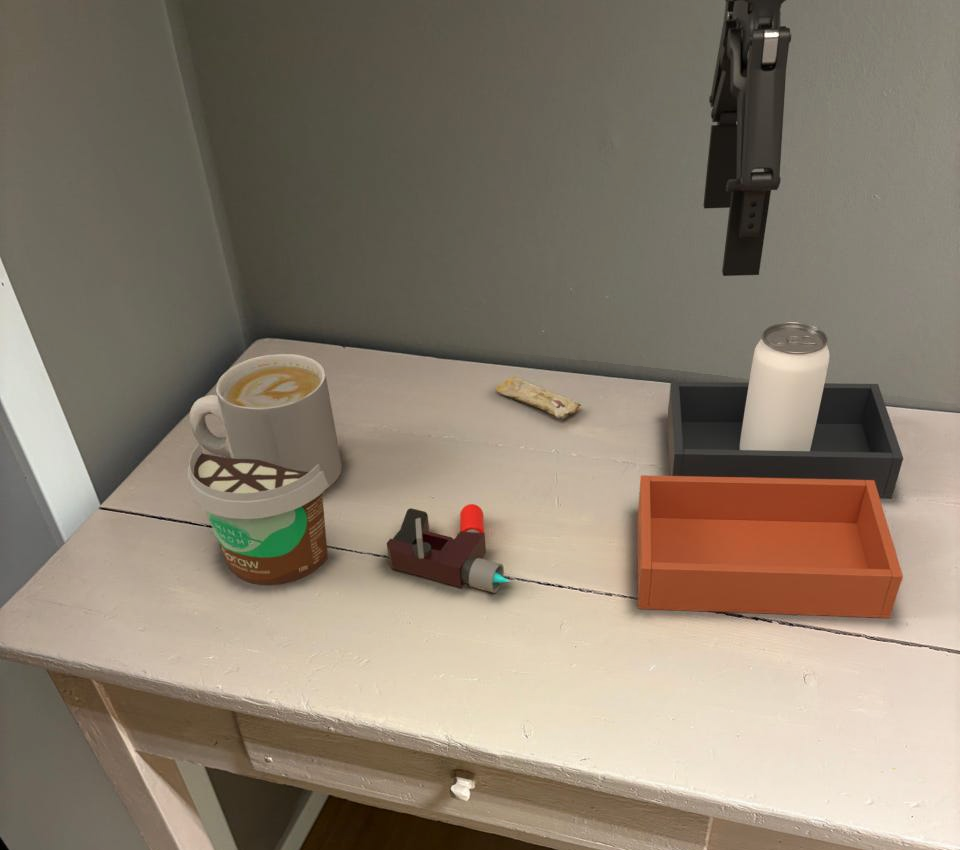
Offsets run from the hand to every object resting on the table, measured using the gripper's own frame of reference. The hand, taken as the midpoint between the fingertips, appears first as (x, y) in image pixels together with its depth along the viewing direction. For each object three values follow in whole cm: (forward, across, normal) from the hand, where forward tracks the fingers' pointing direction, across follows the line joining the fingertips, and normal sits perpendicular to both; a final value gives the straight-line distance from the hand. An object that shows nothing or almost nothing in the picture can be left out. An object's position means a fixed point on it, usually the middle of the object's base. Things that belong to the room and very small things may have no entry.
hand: (729, 238), depth 82 cm
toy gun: (+21, +16, -22) cm, 34 cm away
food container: (+21, +18, -40) cm, 48 cm away
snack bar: (+20, -9, -16) cm, 28 cm away
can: (+20, +1, +6) cm, 21 cm away
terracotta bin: (+20, +17, +2) cm, 27 cm away
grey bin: (+20, +1, +6) cm, 22 cm away
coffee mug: (+21, +3, -42) cm, 47 cm away
